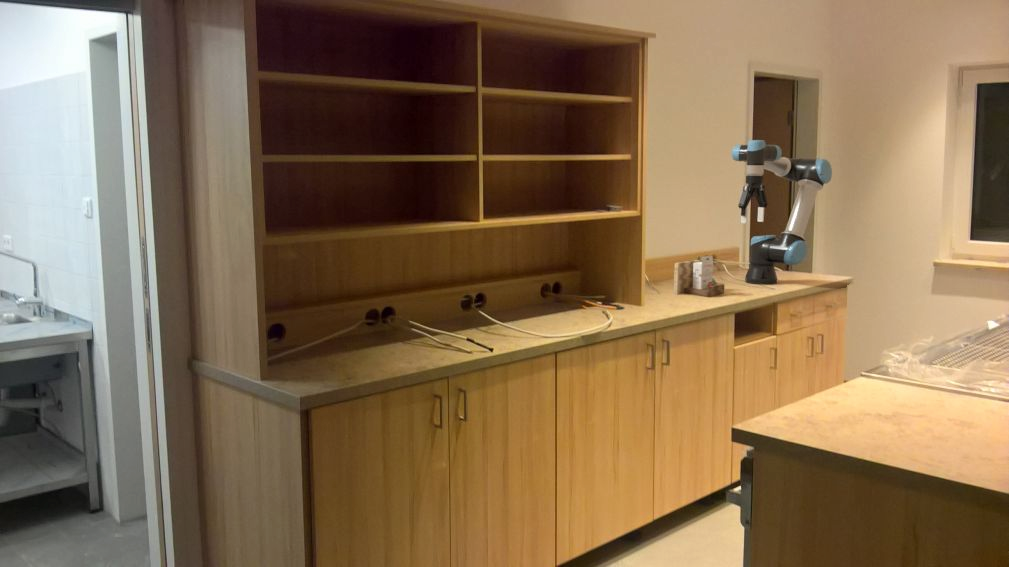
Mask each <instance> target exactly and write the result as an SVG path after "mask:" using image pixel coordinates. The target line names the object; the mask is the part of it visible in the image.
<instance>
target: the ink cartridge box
mask: <svg viewBox="0 0 1009 567" xmlns="http://www.w3.org/2000/svg"><path fill="white" fill-rule="evenodd" d="M701 259H702V262H696V263H693V288H694V289H701V290H702V289H707V287H709V286H712V284H713V282H712V278H713V276H714V275H713V274H714V257H713V255H706V256H705V255H704V256H701ZM706 259H707V260H706ZM713 279H714V278H713Z"/></svg>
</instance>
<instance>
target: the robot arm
mask: <svg viewBox="0 0 1009 567" xmlns="http://www.w3.org/2000/svg"><path fill="white" fill-rule="evenodd" d="M782 154H783V152H782V148H781V147H780V146H779V145H776V144H766V141H765V140H764V139H763V140H762V139H752V140H751V139H750V140H748V142H747V144H737V145H734V146H733V148H732V150H731V157H732V160H733V161H734V162H735V161H736V162H744V163H746V168H745V169H746V176H745V184H747V185H743V187H742V193H741V196H740V199H739V202H738V205H737V206H738V208H739V209H740V210H741V212H740V223H741V224H747V223H748V212H749V211H748V210H749V209H748V206H749V204H750V202H751V200H752V198H753V197H755V199H756V202H757V204H758V207H757V222H759V223H760V222H762V223H764V221H765V219H764V217H765V208H767V207H768V204H769V203H768V199H767V195H766V188H765V187H766V186H765V185H763V184H764V175H765V174H764V173H765V170H766V171H769V172H772V173H774V175H776V176H777V177H779V178H782V179H784V180H787V181H790V182H794V183H797V185H799V188H798V192H797V194H796V198H795V201H794V203H793V206H792V210H791V212H790V215H789V218H788V221H787V224H786V227H785V230H784V231H782V232H781V233H780V234H779V237H778V238H777V235H775V234H767V235H755V236H752V238H751V239H750V245H749V246H750V250H749V252H750V253H749V266H748V269H747V271H746V275H745V279H744V280H745V281H744V282H745V283H748V284H753V285H754V284H755V285H775V284H778V276H777V272H776V268H775V263H776V264H783V265H788V266H790V265H794V266H795V265H799V264H801V263H802V262H803V261H804V260H805V258H806V256H807V253H808V244H807V243H806V239H805V237H804V234H805V233H806V232H805V231H806V228H807V225H808V223H809V219H810V216H811V213H812V210H813V207H814V204H815V202H816V199H817V195H818V192H819V191H822V189H823V187H824V185H826V184H829V183H830V182H831V180H832V177H833V168H832V165H831V163H830V161H828V160H827V159H825V158H824V159H823V158H820V157H818V158H788V157H785V156H782Z"/></svg>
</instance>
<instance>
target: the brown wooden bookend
mask: <svg viewBox="0 0 1009 567" xmlns="http://www.w3.org/2000/svg"><path fill="white" fill-rule="evenodd" d="M706 260H708V258H707V259H706ZM696 262H702V258H700V260H698V259H695V260H688V261H680V262H674V271H673V272H674V273H673V295H681V294H682V295H683V294H686V295H691V296H692V295H693V296H699V297H705V298H712V297H718V296H722V295H723V296H724V295H725V284H724V283H721V284H717V285H715V286H709V287H707V289H702V290H701V289H694V288H693V263H696Z"/></svg>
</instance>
